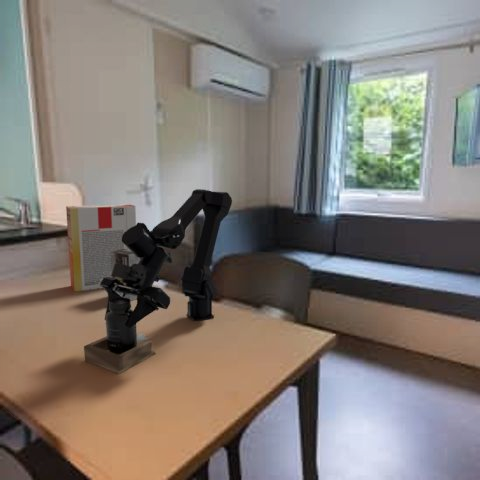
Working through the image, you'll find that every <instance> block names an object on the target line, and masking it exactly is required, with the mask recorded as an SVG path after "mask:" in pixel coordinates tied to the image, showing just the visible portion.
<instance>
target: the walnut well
mask: <svg viewBox="0 0 480 480" xmlns="http://www.w3.org/2000/svg"><path fill="white" fill-rule="evenodd" d="M83 352H84V354H83V355H84V361H85V362H87V363H90V364H93V365H95V366H98V367H101V368H103V369H104V370H105V369H106V370H108V371H111V372H113V373H116V374H118V375H120V374H122V373H124V372H126V371H127V370H129V369H131V368H132V367H134V366H136V365H138V364H140V363H142V362H143V361H145V360H147V359H149V358H150V357H152V356H154V355H156V351H154V350H153V349H152V341H150V340H145V341H144V342H142V343H140V344H137V346H136V347H134V348H132V349H130V350H128V351H126V352H124V353H122V354H114V353H111V352H109V351H108V347H107V335H106V336H104V337H102V338H100V339H97V340H95V341H93V342H91V343H87V344H86V345H84V346H83Z"/></svg>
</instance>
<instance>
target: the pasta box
mask: <svg viewBox="0 0 480 480" xmlns="http://www.w3.org/2000/svg"><path fill="white" fill-rule="evenodd" d="M65 208H66V209H65V210H66V226H67V227H66V228H67V241H68V256H69V257H68V258H69V274H70V275H69V277H70V287H71V286H72V287H71V288H72V290H73V291H74V292H76V291H77V292H83V290H84V291H91V290H98V289H97V288H99V289H104V288H103V287H101V286H100V283H101V282H102V280H103V278H105V277H111V278H112V276H111V275H112V270H111V252H113V251H116V250H120V249H129V248H128V247H127V246H126V245H125V244H124V243H123V242H122V236H123V234H124V232H125V231H127V230H128V229H130V228H131V227H133V226H136V224H137V220H136V219H137V217H136V212H137V211H136V205H134V204H133V205H132V204H131V203H125V204H124V203H123V204H121V203H119V204H95V205H93V204H92V205H66V206H65ZM90 289H91V290H90Z"/></svg>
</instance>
